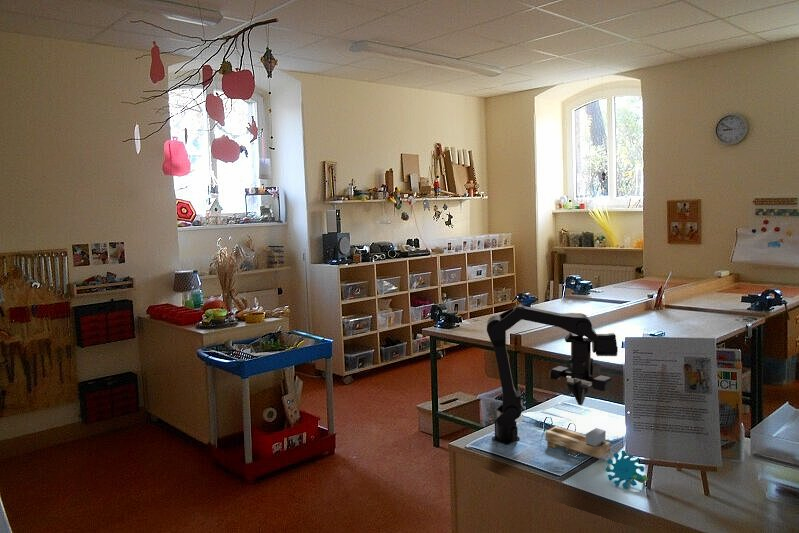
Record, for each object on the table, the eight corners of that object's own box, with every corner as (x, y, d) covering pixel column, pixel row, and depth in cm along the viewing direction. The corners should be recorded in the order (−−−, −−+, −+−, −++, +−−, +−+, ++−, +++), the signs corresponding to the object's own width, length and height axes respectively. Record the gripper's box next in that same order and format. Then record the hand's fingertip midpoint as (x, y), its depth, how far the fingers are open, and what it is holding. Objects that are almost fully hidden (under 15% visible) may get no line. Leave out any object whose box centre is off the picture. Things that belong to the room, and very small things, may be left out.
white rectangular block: (585, 448, 174) (585, 433, 174) (595, 442, 178) (596, 427, 177) (595, 451, 172) (595, 436, 171) (605, 445, 176) (605, 430, 175)
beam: (545, 446, 184) (544, 431, 184) (556, 440, 189) (556, 425, 188) (599, 465, 171) (599, 449, 171) (610, 457, 176) (610, 441, 175)
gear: (597, 474, 163) (616, 443, 165) (604, 482, 166) (622, 452, 169) (634, 495, 155) (653, 462, 157) (641, 503, 158) (659, 471, 161)
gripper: (622, 355, 182) (622, 405, 184) (568, 344, 195) (567, 391, 197) (604, 364, 174) (603, 415, 176) (548, 352, 188) (548, 400, 190)
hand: (580, 404), depth 185 cm, fingers closed
